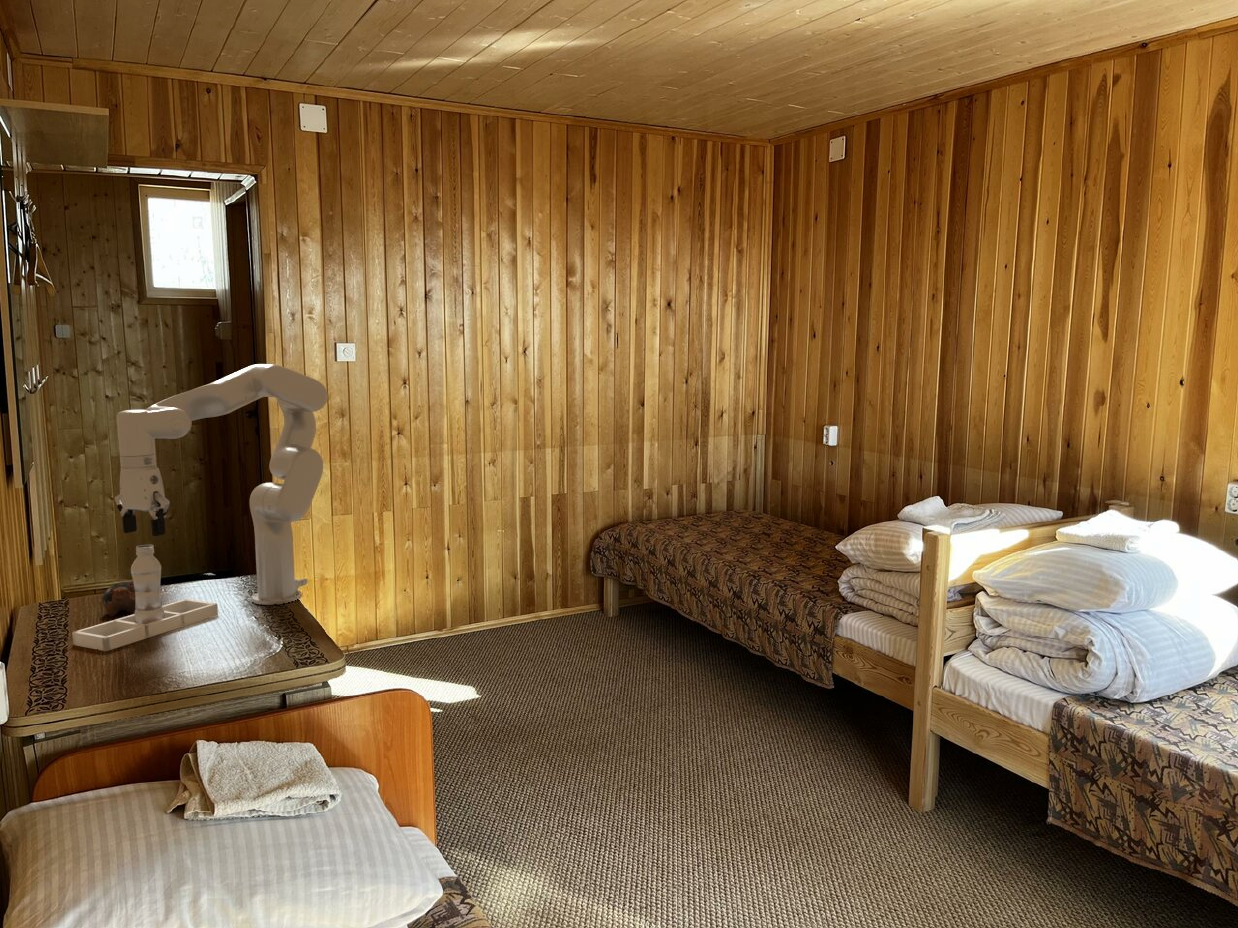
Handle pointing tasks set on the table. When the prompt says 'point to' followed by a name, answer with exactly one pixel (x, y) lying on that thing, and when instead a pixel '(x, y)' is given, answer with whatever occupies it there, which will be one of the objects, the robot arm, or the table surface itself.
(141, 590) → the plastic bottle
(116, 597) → the decorative turtle
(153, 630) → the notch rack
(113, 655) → the table surface
